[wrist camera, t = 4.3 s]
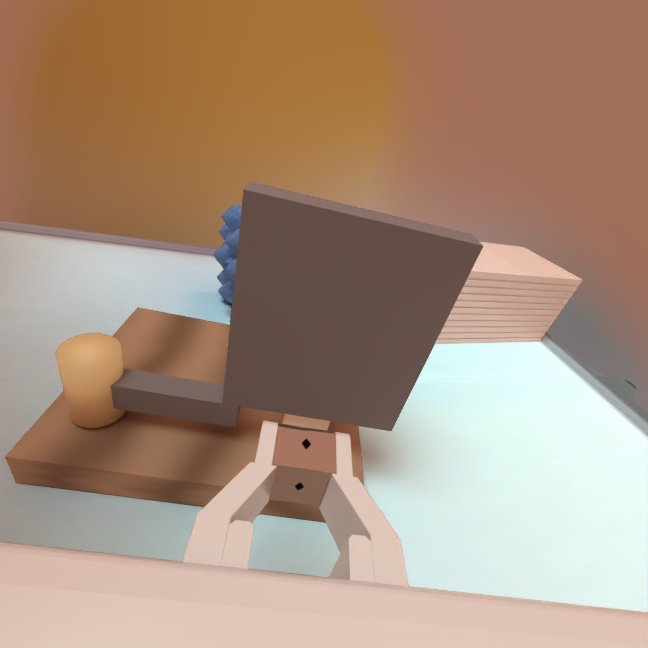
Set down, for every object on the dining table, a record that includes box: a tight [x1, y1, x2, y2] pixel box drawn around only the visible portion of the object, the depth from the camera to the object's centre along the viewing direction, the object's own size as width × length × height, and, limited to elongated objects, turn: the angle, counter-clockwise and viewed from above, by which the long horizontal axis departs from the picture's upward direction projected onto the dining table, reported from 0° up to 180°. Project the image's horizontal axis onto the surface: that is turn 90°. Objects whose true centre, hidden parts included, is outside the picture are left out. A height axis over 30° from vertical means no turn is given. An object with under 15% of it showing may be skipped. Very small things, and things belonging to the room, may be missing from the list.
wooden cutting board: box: [5, 308, 364, 522], centre depth 28 cm, size 21×16×3 cm
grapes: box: [213, 205, 242, 303], centre depth 40 cm, size 12×7×12 cm, turn 17°
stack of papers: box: [435, 242, 582, 344], centre depth 48 cm, size 32×11×11 cm, turn 109°
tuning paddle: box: [56, 182, 483, 431], centre depth 20 cm, size 21×3×16 cm, turn 90°
